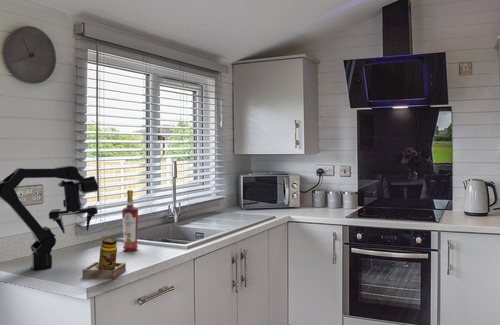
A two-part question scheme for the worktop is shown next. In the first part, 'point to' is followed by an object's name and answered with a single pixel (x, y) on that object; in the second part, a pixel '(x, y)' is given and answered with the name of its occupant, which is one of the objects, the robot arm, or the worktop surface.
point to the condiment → (107, 255)
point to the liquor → (130, 223)
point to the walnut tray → (104, 272)
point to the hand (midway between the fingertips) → (75, 231)
